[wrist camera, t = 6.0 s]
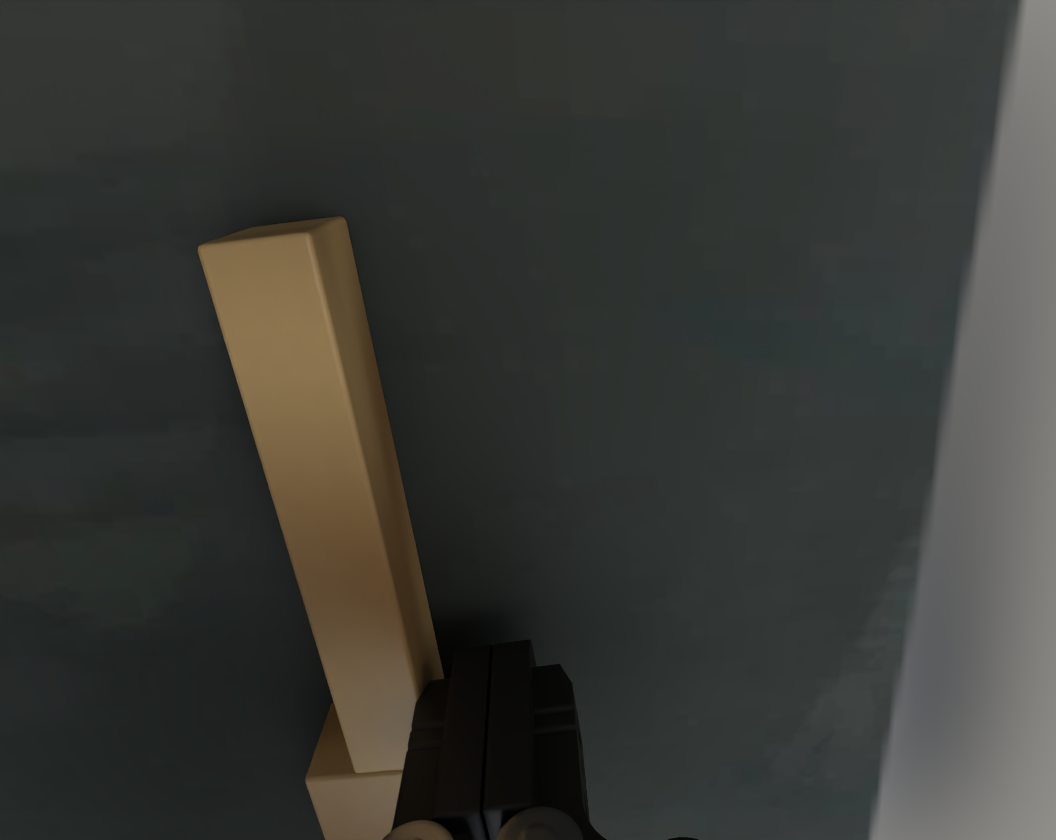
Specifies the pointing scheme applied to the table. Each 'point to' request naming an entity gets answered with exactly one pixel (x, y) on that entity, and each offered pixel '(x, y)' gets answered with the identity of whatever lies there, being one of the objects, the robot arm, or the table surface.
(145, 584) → the table surface
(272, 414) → the fork
